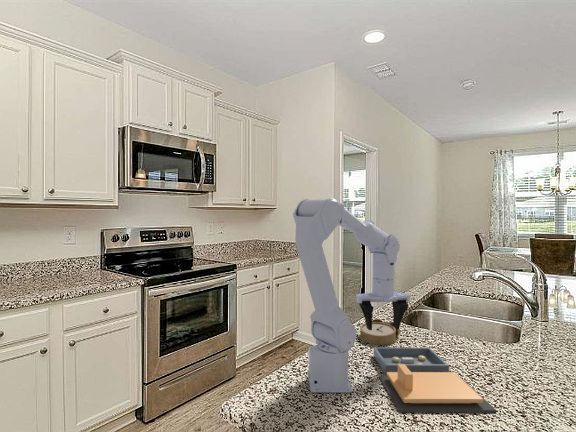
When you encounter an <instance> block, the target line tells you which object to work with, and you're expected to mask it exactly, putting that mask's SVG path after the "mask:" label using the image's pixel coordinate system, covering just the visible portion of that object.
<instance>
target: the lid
mask: <svg viewBox="0 0 576 432" xmlns="http://www.w3.org/2000/svg"><path fill="white" fill-rule="evenodd" d="M386 376H387V377H388V378H389V380H390V382H391V383H392V385H393V386H394V388H395V389H396V391H397V393H398V394H399V396H400V397H401V399H402V401H403V402H404V403H483V398H484V397H483V396H482V397H483V398H482V397H480V396H479V395H478V394H479V393H478V392H477V391H476V390H475V389H474V388H473V387H472V386H471V385H470V384H469V383H468V382H467V383H468V384H469V385H470V386H471V387H472V388H473V389H474V390H475V391H476V392H477V393H478V394H477V393H476V392H475V391H474V390H473V389H472V388H471V387H470V386H469V385H468V384H467V383H465V382H464V381H465V380H464V379H463V378H462V377H461V376H460V377H461V378H462V379H463V380H464V381H463V380H462V379H461V378H460V377H459V375H458V374H457V373H456V372H455V371H453V372H451V371H449V372H411V371H410V370H409V369H408V368H407V366H406V365H405V364H398V372H387V375H386Z"/></svg>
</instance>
